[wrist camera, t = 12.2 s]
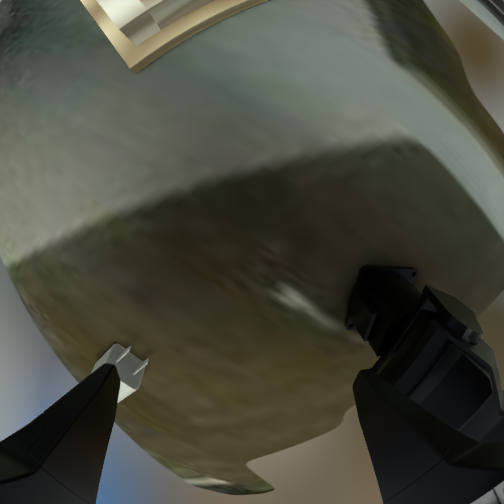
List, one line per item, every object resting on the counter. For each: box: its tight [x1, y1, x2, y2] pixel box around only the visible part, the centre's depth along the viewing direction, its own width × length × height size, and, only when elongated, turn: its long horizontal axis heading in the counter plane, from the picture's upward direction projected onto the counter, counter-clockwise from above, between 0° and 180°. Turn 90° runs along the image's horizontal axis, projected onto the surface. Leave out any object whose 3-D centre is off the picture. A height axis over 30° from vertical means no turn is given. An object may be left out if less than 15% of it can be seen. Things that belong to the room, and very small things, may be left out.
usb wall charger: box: [91, 344, 149, 403], centre depth 22 cm, size 4×7×4 cm, turn 133°
